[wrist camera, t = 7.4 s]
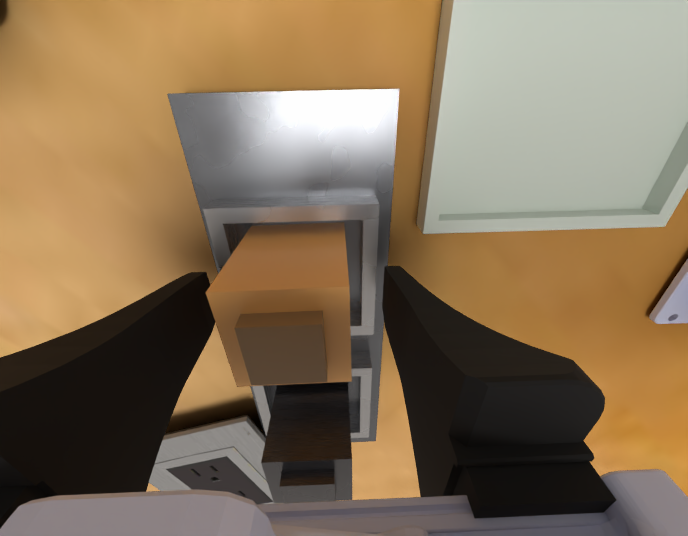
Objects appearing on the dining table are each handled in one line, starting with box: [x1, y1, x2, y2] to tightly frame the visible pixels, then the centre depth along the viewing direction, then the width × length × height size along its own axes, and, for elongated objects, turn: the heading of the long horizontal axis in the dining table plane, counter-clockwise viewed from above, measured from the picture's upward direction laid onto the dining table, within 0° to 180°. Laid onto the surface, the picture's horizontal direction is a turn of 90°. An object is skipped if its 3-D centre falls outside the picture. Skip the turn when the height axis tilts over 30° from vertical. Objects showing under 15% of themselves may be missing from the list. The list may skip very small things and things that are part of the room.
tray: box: [416, 0, 688, 234], centre depth 11 cm, size 11×9×1 cm
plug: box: [206, 222, 352, 387], centre depth 11 cm, size 4×4×6 cm
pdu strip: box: [167, 89, 399, 503], centre depth 13 cm, size 22×8×7 cm, turn 1°
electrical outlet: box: [149, 415, 279, 504], centre depth 23 cm, size 13×10×2 cm
